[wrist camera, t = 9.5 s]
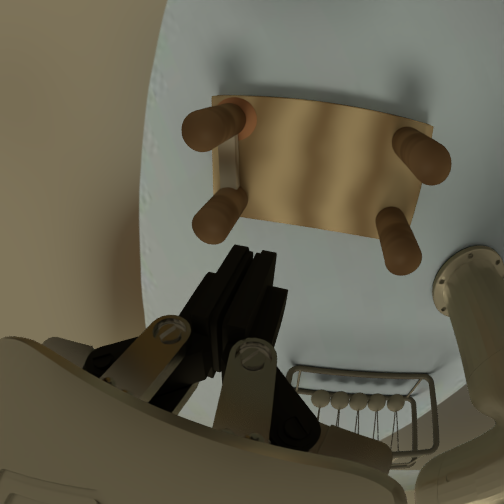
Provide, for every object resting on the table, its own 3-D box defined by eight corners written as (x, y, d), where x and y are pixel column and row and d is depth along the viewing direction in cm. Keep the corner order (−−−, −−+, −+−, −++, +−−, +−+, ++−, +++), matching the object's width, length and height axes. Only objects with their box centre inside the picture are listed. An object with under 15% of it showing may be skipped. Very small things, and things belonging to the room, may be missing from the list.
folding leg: (248, 214, 32) (229, 246, 27) (218, 211, 33) (194, 242, 28) (245, 102, 25) (221, 108, 20) (211, 103, 26) (179, 111, 20)
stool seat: (427, 123, 23) (463, 142, 16) (401, 235, 31) (417, 284, 24) (218, 95, 28) (177, 102, 20) (220, 206, 36) (187, 246, 28)
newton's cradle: (433, 372, 44) (440, 452, 29) (414, 397, 49) (415, 467, 35) (289, 362, 50) (268, 448, 36) (286, 388, 56) (268, 461, 42)
